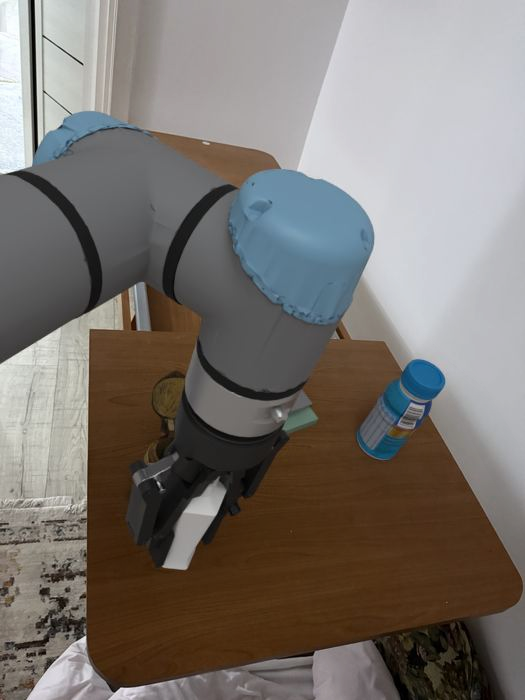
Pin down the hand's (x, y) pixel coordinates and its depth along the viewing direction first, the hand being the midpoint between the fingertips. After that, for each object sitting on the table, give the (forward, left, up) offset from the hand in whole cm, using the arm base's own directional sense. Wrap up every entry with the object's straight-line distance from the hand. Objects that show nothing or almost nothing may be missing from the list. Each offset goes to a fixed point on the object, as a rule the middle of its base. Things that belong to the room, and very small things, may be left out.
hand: (178, 542), depth 50 cm
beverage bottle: (+49, +9, -21) cm, 54 cm away
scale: (+32, +24, -20) cm, 45 cm away
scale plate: (+35, +24, -17) cm, 45 cm away
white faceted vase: (0, 0, -2) cm, 2 cm away
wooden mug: (+9, +17, -21) cm, 28 cm away
